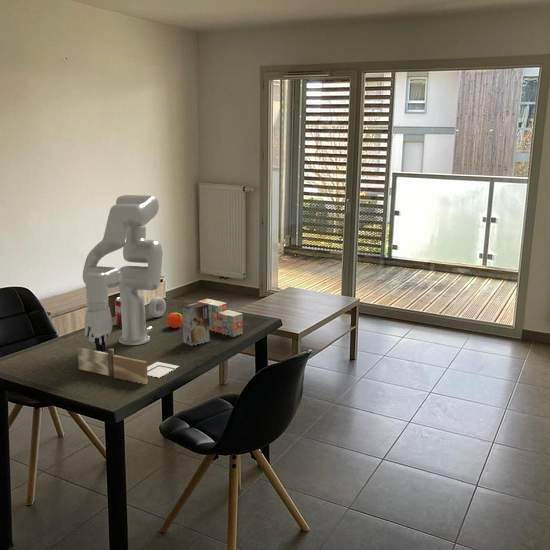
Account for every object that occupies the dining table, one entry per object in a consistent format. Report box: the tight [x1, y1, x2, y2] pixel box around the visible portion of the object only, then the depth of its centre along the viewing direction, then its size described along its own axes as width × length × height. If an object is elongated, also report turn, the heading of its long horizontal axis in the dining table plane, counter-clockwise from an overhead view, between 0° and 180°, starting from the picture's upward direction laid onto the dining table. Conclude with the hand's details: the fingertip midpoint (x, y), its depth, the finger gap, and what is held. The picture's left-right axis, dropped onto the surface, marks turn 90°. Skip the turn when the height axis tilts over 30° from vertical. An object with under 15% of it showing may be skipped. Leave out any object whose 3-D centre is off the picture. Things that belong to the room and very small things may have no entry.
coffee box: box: [181, 301, 211, 347], centre depth 257 cm, size 9×6×16 cm
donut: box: [147, 296, 167, 319], centre depth 292 cm, size 10×4×10 cm, turn 145°
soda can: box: [114, 297, 122, 328], centre depth 280 cm, size 7×7×12 cm
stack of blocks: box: [197, 298, 244, 338], centre depth 272 cm, size 21×6×12 cm, turn 50°
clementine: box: [166, 311, 183, 329], centre depth 277 cm, size 8×7×7 cm
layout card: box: [147, 361, 180, 379], centre depth 229 cm, size 12×10×1 cm
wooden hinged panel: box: [107, 348, 149, 385], centre depth 219 cm, size 2×16×10 cm, turn 63°
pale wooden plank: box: [77, 346, 110, 377], centre depth 226 cm, size 14×1×8 cm, turn 63°
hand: (101, 353), depth 231 cm, fingers closed
